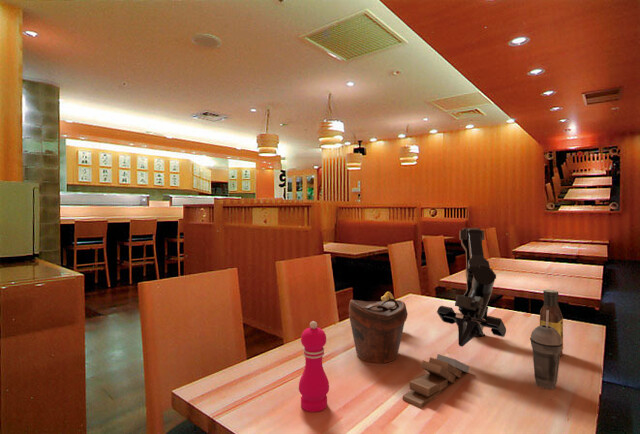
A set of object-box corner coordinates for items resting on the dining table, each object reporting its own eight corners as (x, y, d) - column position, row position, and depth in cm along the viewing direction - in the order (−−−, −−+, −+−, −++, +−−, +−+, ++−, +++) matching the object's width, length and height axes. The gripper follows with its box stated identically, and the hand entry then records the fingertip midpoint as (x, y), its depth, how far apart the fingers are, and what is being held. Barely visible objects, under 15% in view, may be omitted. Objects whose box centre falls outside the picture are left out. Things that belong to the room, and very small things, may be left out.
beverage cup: (557, 380, 96) (558, 306, 95) (566, 394, 89) (567, 314, 88) (526, 376, 98) (527, 304, 98) (533, 389, 91) (533, 311, 91)
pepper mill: (298, 397, 88) (297, 317, 88) (327, 396, 89) (327, 316, 88) (299, 414, 81) (298, 327, 80) (330, 412, 82) (330, 326, 81)
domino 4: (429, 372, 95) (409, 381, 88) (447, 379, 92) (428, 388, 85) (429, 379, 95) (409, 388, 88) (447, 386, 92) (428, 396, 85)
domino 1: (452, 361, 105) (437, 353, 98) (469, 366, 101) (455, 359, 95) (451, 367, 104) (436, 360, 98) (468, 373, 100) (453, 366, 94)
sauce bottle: (566, 358, 110) (567, 293, 109) (544, 356, 111) (545, 293, 111) (557, 349, 116) (558, 289, 116) (536, 348, 118) (536, 288, 117)
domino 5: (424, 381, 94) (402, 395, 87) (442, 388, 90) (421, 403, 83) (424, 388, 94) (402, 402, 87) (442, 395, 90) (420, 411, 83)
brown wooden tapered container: (419, 352, 115) (418, 296, 114) (385, 374, 100) (384, 310, 100) (373, 339, 127) (372, 289, 126) (336, 357, 112) (335, 300, 112)
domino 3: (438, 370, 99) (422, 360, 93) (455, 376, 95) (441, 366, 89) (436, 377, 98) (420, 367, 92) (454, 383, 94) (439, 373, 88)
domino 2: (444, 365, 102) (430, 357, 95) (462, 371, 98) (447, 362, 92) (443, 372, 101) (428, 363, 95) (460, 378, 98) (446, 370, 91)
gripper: (439, 279, 112) (420, 322, 105) (502, 289, 98) (485, 339, 91) (452, 300, 118) (434, 342, 110) (512, 312, 104) (497, 361, 97)
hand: (460, 345), depth 102 cm, fingers closed
